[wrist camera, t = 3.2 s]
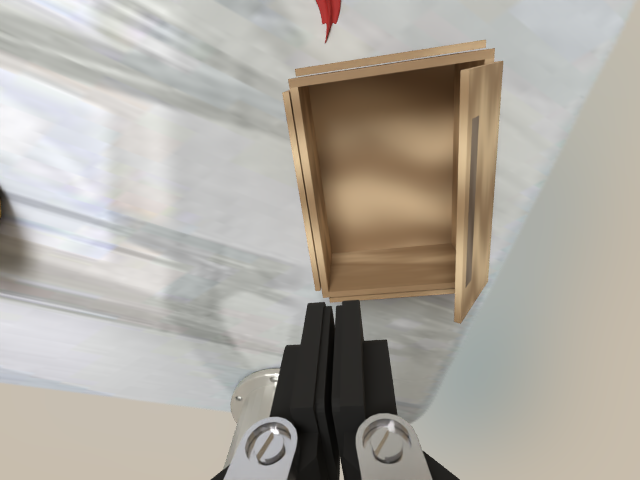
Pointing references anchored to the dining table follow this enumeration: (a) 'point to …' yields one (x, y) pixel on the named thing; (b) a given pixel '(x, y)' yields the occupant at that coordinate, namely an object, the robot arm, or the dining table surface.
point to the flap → (476, 180)
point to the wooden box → (381, 170)
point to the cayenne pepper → (329, 12)
